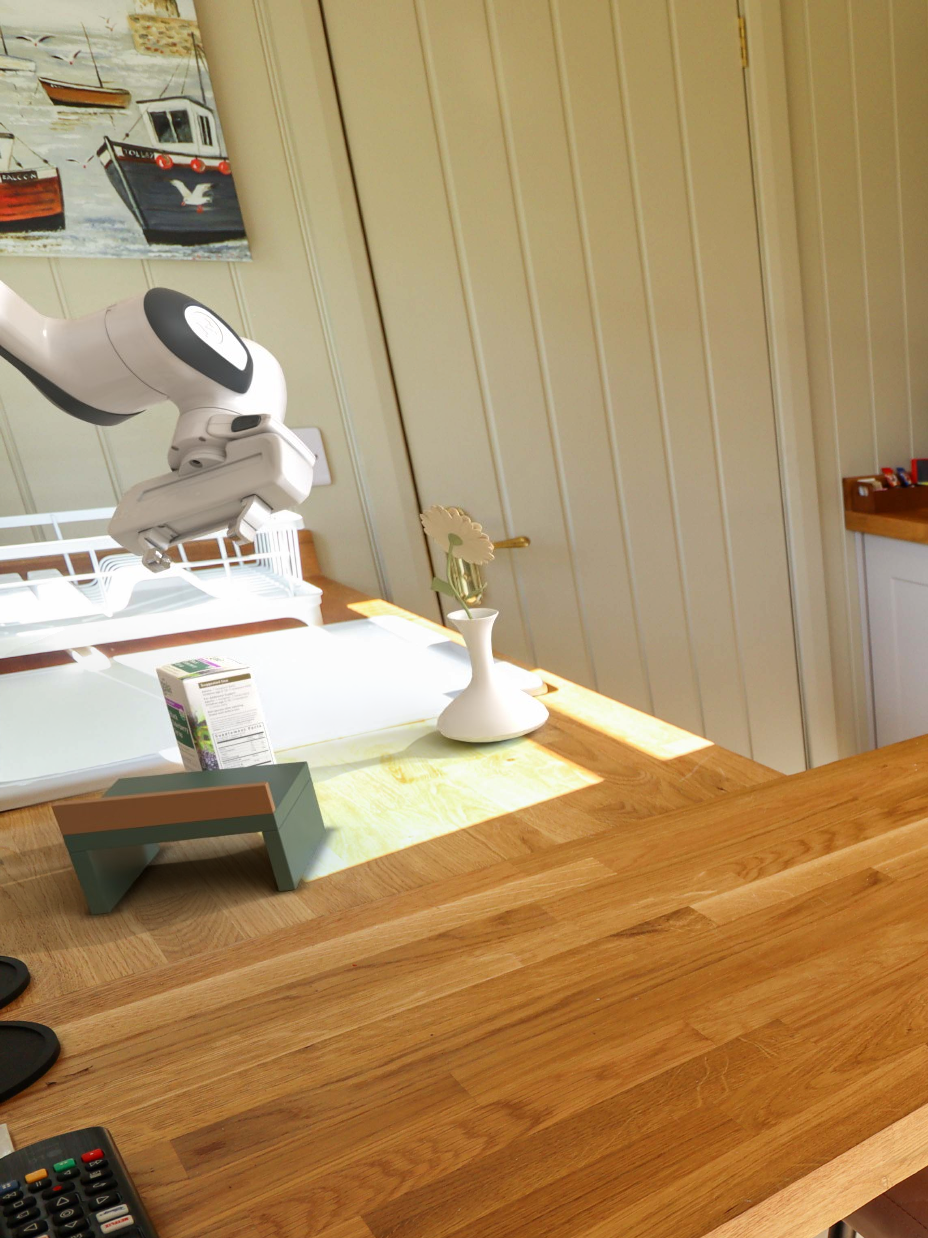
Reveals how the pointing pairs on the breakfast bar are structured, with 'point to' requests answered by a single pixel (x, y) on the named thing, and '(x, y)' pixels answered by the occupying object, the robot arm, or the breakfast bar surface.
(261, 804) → the shelf
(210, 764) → the syrup box
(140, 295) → the robot arm
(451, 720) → the flower in vase
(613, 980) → the breakfast bar surface
